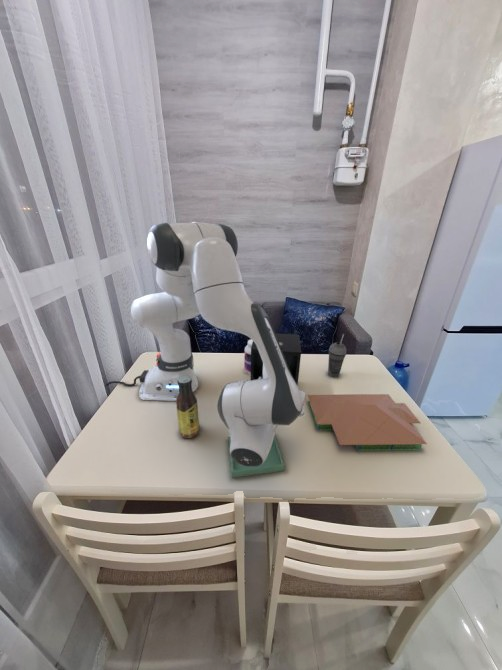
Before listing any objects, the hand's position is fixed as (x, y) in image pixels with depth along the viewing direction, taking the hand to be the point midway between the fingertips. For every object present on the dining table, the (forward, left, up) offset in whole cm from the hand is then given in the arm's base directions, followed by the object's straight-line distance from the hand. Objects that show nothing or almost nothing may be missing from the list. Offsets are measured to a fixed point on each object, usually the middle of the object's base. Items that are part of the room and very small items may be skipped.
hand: (273, 380), depth 81 cm
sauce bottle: (-27, 0, -17) cm, 32 cm away
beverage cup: (+33, +24, -17) cm, 44 cm away
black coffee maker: (+5, +17, -17) cm, 25 cm away
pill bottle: (-1, +32, -17) cm, 36 cm away
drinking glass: (0, -1, -8) cm, 8 cm away
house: (+30, -5, -17) cm, 35 cm away
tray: (-8, -12, -17) cm, 22 cm away
